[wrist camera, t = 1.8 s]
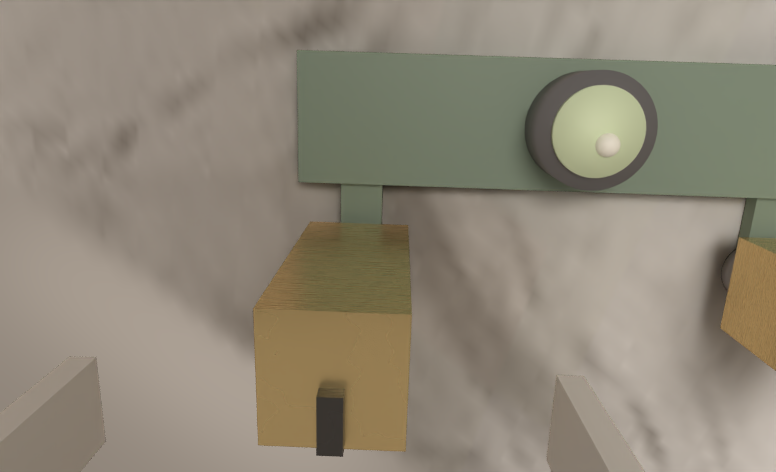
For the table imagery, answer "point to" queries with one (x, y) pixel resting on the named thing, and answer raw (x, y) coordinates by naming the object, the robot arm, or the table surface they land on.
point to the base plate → (487, 123)
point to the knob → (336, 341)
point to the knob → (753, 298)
